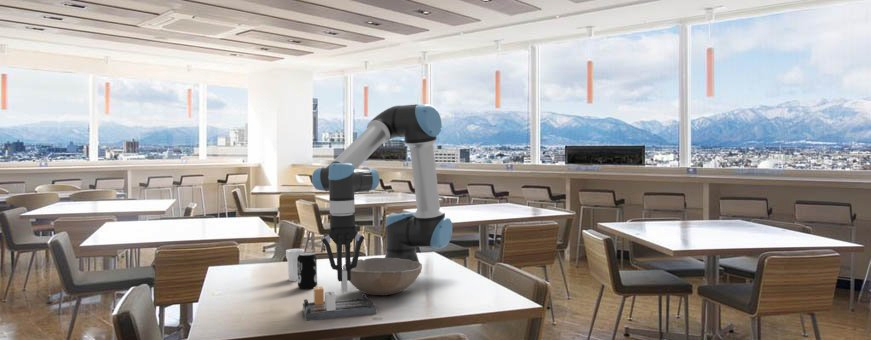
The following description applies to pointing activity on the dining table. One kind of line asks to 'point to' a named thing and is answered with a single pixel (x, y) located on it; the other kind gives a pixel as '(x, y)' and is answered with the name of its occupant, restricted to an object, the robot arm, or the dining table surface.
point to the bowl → (384, 275)
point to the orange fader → (318, 295)
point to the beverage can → (307, 270)
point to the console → (339, 309)
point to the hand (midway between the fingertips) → (344, 291)
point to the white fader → (330, 301)
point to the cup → (293, 263)
